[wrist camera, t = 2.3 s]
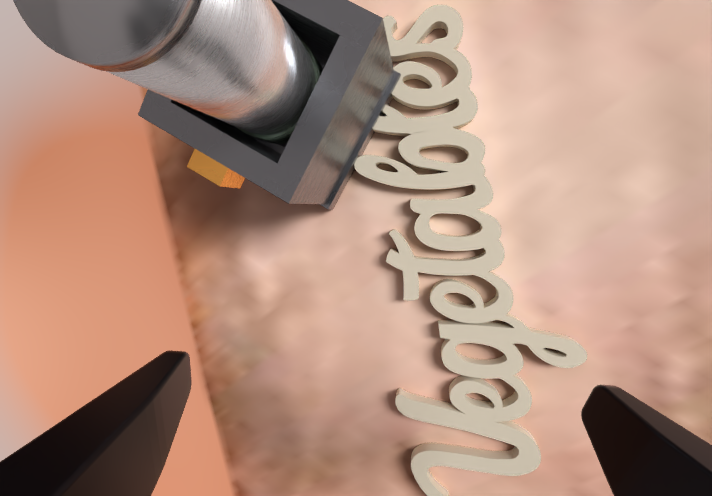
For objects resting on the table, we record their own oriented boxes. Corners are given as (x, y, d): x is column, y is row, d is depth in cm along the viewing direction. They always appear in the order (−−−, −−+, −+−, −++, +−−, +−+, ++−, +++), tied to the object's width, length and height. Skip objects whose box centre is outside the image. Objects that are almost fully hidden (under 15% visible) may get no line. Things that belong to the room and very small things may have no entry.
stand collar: (401, 80, 18) (391, 15, 12) (327, 218, 20) (283, 224, 14) (278, 16, 19) (208, -78, 13) (216, 153, 21) (126, 131, 14)
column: (356, 89, 18) (233, -130, 6) (316, 167, 19) (141, 104, 7) (283, 49, 18) (41, -223, 7) (247, 128, 19) (-26, 7, 8)
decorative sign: (612, 500, 18) (418, 509, 20) (602, 486, 19) (418, 495, 21) (522, -29, 16) (317, 38, 18) (517, -16, 17) (322, 47, 19)
